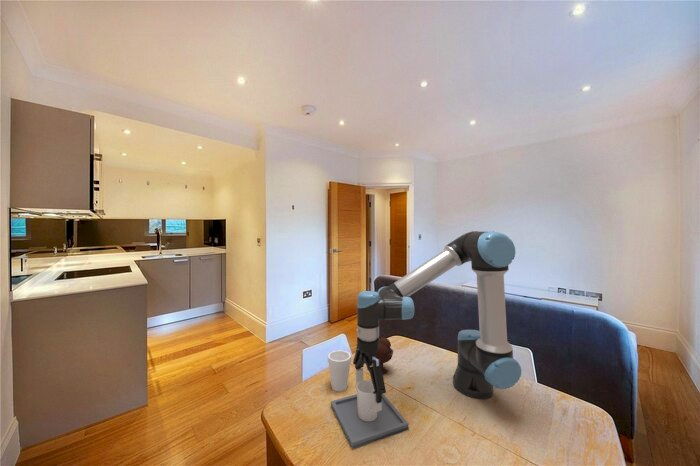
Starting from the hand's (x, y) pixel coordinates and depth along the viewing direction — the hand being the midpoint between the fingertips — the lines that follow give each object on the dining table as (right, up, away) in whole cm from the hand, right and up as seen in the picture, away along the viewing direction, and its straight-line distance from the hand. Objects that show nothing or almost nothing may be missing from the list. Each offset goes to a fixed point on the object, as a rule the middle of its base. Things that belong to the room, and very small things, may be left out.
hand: (367, 398), depth 90 cm
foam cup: (-11, -7, +17) cm, 21 cm away
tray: (0, -7, 0) cm, 7 cm away
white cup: (0, -6, 0) cm, 6 cm away
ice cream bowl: (+8, -7, +30) cm, 31 cm away
